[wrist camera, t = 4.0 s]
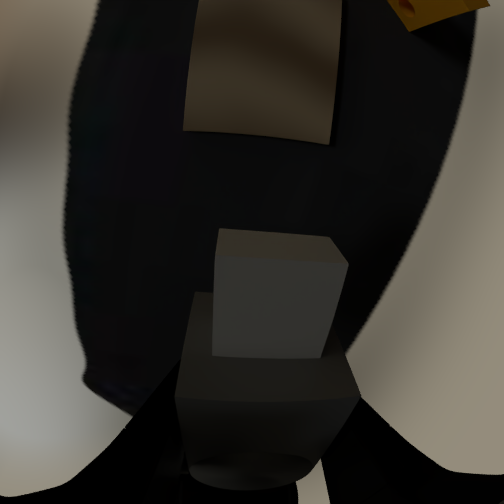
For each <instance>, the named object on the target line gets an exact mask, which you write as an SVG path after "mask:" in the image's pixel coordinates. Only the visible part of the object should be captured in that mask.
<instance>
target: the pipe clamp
mask: <svg viewBox="0 0 504 504" xmlns="http://www.w3.org/2000/svg"><path fill="white" fill-rule="evenodd" d="M387 1H388V2H389V4H390V5H391V6H392V8H393V9H394V11H395V12H396V13H397V15H398V16H399V18H400V19H401V21H402V22H403V24H404V25H405V27H406V28H407V30H408V31H409V32H410V31H413V30H416V29H418V28H421V27H424V26H427V25H429V24H432V23H435V22H438V21H441V20H444V19H447V18H450V17H453V16H456V15H459V14H462V13H466V12H469V11H473V10H476V9H480V8H484V7H488V6H490V4H489V3H488V1H487V0H387Z"/></svg>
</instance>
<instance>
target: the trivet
mask: <svg viewBox="0 0 504 504" xmlns="http://www.w3.org/2000/svg"><path fill="white" fill-rule="evenodd" d="M341 12H342V0H199V4H198V10H197V16H196V22H195V29H194V35H193V42H192V49H191V57H190V65H189V73H188V82H187V92H186V102H185V113H184V126H183V131H207V132H225V133H239V134H250V135H261V136H270V137H279V138H287V139H294V140H301V141H308V142H315V143H321V144H327V145H329V141H330V133H331V126H332V117H333V109H334V100H335V91H336V81H337V70H338V58H339V45H340V31H341Z"/></svg>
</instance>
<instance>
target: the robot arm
mask: <svg viewBox="0 0 504 504" xmlns="http://www.w3.org/2000/svg"><path fill="white" fill-rule="evenodd" d="M180 363H181V359H180V360H179V361H178V362H177V364H176V365H175V366H174V367H173V369H172V370H171V371H170V372H169V374H168V375H167V376H166V377H165V378H164V380H163V381H162V382H161V383H160V385H159V386H158V387H157V388H156V390H155V391H154V392H153V393H152V394H151V396H150V397H149V398H148V399H147V401H146V402H145V403H144V404H143V405H142V407H141V408H140V409H139V410H138V412H137V413H136V414H135V415H134V416H133V418H132V419H131V420H130V421H129V423H128V424H127V425H126V426H125V428H126V429H125V428H124V429H123V430H122V431H121V432H120V433H119V435H118V436H117V437H116V438H115V439H114V440H113V441H112V442H111V444H110V445H109V446H108V447H107V448H106V449H105V450H104V451H103V452H102V453H101V454H100V455H99V456H97V457H96V458H95V459H94V460H93V461H92V462H91V463H90V464H88V465H87V466H86V467H85V468H84V469H83V470H82V471H80V472H79V473H78V474H77V475H76V476H75V477H73V478H72V479H71V480H70V481H68V482H66V483H64V484H62V485H60V486H57V487H54V488H50V489H46V490H42V491H39V492H34V493H30V494H25V495H21V496H15V497H4V496H0V504H298V490H297V485H296V481H295V482H293V483H290V484H287V485H284V486H280V487H275V488H270V489H262V490H230V489H223V488H217V487H213V486H210V485H207V484H204V483H202V482H199V481H198V480H196V479H195V478H193V477H192V476H191V474H190V472H189V468H188V464H187V459H186V455H185V450H184V445H183V440H182V436H181V430H180V425H179V420H178V414H177V409H176V403H175V397H174V396H175V391H176V385H177V379H178V374H179V368H180ZM321 462H322V467H323V471H324V476H325V481H326V485H327V490H328V495H329V500H330V504H504V474H502V475H485V474H471V473H459V472H453V471H450V470H447V469H445V468H443V467H441V466H439V465H438V464H437V463H436V462H434V461H433V460H431V459H430V458H428V457H427V456H426V455H425V454H423V453H422V452H420V451H419V450H418V449H416V448H415V447H414V446H413V445H411V444H410V443H409V442H408V441H407V440H405V439H404V438H403V437H402V436H401V435H400V434H399V433H398V432H397V431H395V429H393V428H392V427H390V425H389V424H388V423H387V422H386V421H385V420H384V419H383V418H382V417H381V416H380V415H379V414H378V413H377V412H376V411H375V410H374V409H373V408H372V407H371V406H370V405H369V404H368V403H367V402H366V401H365V400H364V399H362V398H361V397H360V399H359V401H358V402H357V404H356V406H355V407H354V409H353V411H352V412H351V414H350V416H349V417H348V419H347V420H346V422H345V424H344V425H343V427H342V428H341V430H340V431H339V433H338V434H337V436H336V437H335V439H334V440H333V442H332V443H331V445H330V446H329V447H328V449H327V450H326V452H325V453H324V454H323V456H322V457H321Z"/></svg>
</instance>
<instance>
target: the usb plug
mask: <svg viewBox="0 0 504 504" xmlns="http://www.w3.org/2000/svg"><path fill="white" fill-rule="evenodd" d="M348 265H349V264H348V262H347V261H346V259H345V258H344V257H343V255H342V254H341V253H340V251H339V250H338V248H337V247H336V246H335V244H334V243H333V242H332V240H331V239H330V238H329V237H321V236H310V235H298V234H286V233H273V232H261V231H247V230H234V229H219V235H218V241H217V247H216V254H215V273H214V293H204V292H195V295H194V299H193V304H192V308H191V313H190V318H189V323H188V327H187V332H186V337H185V342H184V347H183V353H182V358H181V363H180V368H179V374H178V379H177V385H176V391H175V396H174V397H175V403H176V409H177V414H178V420H179V425H180V430H181V436H182V440H183V445H184V450H185V455H186V459H187V464H188V468H189V472H190V474H191V476H192V477H193V478H195V479H196V480H198V481H199V482H202V483H204V484H207V485H210V486H213V487H217V488H223V489H230V490H262V489H270V488H275V487H280V486H284V485H287V484H290V483H293V482H295V481H298V480H300V479H302V478H303V477H305V476H306V475H308V474H309V473H310V472H311V470H312V469H313V468H314V467H315V465H316V464H317V463H318V461H319V460H320V459H321V457H322V456H323V454H324V453H325V452H326V450H327V449H328V447H329V446H330V445H331V443H332V442H333V440H334V439H335V437H336V436H337V434H338V433H339V431H340V430H341V428H342V427H343V425H344V424H345V422H346V420H347V419H348V417H349V416H350V414H351V412H352V411H353V409H354V407H355V406H356V404H357V402H358V401H359V399H360V397H361V394H360V391H359V389H358V386H357V384H356V381H355V378H354V376H353V374H352V371H351V368H350V366H349V363H348V361H347V358H346V356H345V354H344V351H343V349H342V346H341V344H340V341H339V339H338V337H337V334H336V332H335V329H334V327H333V325H332V321H333V317H334V314H335V311H336V308H337V304H338V301H339V297H340V294H341V291H342V287H343V283H344V280H345V276H346V272H347V269H348Z"/></svg>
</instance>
